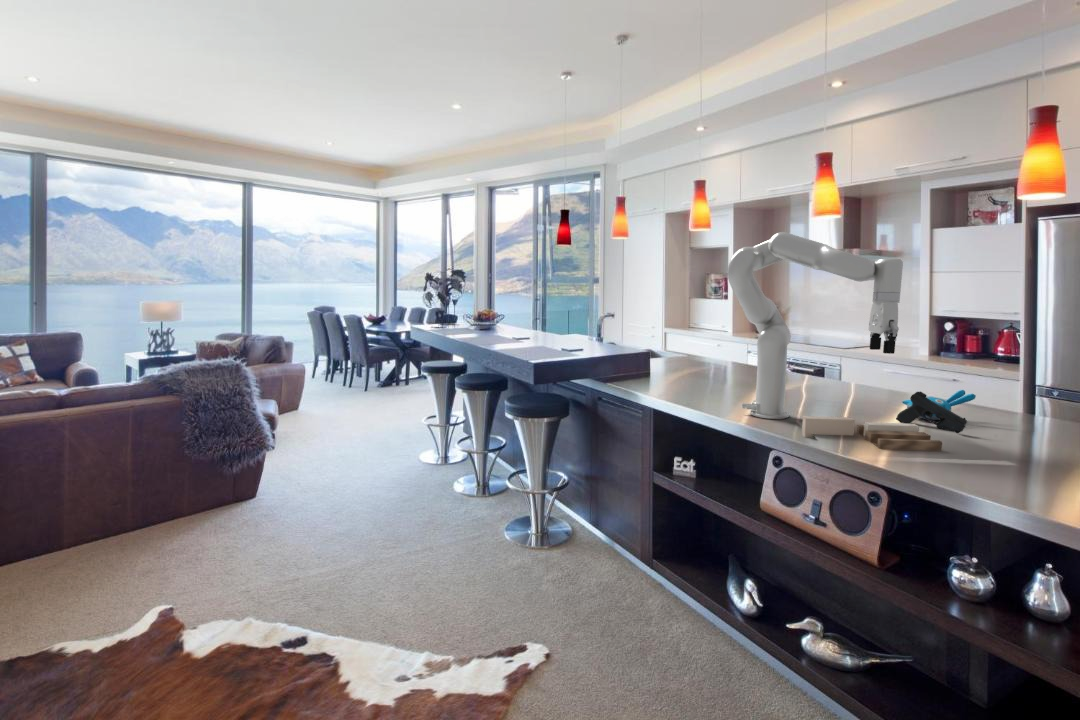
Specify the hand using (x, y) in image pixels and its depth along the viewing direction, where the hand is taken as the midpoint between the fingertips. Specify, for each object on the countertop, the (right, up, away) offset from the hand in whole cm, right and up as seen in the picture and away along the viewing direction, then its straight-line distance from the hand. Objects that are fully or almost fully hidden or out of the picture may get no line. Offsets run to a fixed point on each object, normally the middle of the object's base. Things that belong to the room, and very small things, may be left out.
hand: (881, 351), depth 196 cm
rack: (-6, -27, -19) cm, 34 cm away
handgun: (+15, -25, -1) cm, 29 cm away
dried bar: (-5, -26, -14) cm, 30 cm away
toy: (+26, -23, +12) cm, 37 cm away
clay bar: (-22, -26, -9) cm, 35 cm away
